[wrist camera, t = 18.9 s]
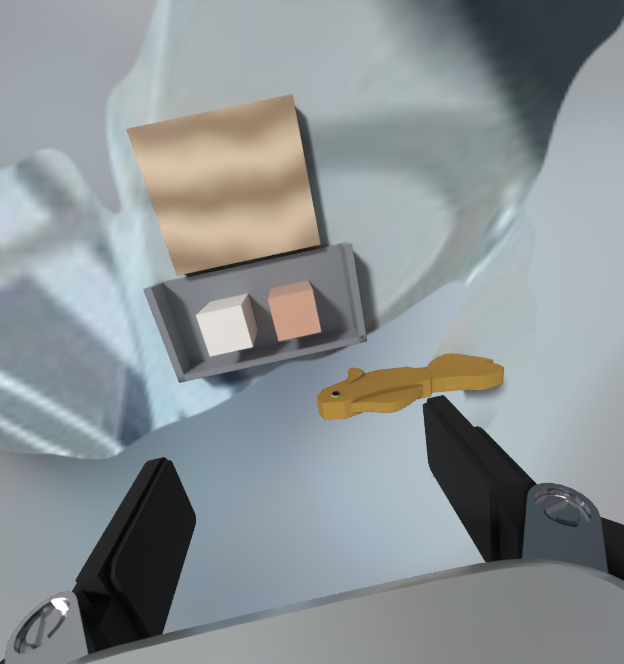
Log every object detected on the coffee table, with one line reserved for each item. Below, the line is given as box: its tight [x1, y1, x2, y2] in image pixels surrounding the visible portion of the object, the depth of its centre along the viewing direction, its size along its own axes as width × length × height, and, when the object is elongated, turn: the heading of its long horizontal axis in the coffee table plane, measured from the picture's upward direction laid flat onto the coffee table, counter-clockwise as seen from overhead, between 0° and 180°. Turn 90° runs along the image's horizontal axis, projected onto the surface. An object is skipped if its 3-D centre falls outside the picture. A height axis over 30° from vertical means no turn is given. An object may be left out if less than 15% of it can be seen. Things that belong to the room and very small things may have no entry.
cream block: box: [196, 294, 258, 356], centre depth 34 cm, size 4×4×6 cm
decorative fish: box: [317, 354, 504, 420], centre depth 38 cm, size 22×3×10 cm, turn 99°
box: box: [143, 243, 367, 383], centre depth 36 cm, size 11×22×4 cm, turn 102°
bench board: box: [126, 94, 321, 275], centre depth 32 cm, size 14×16×2 cm
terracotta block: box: [268, 280, 321, 341], centre depth 34 cm, size 4×4×6 cm
